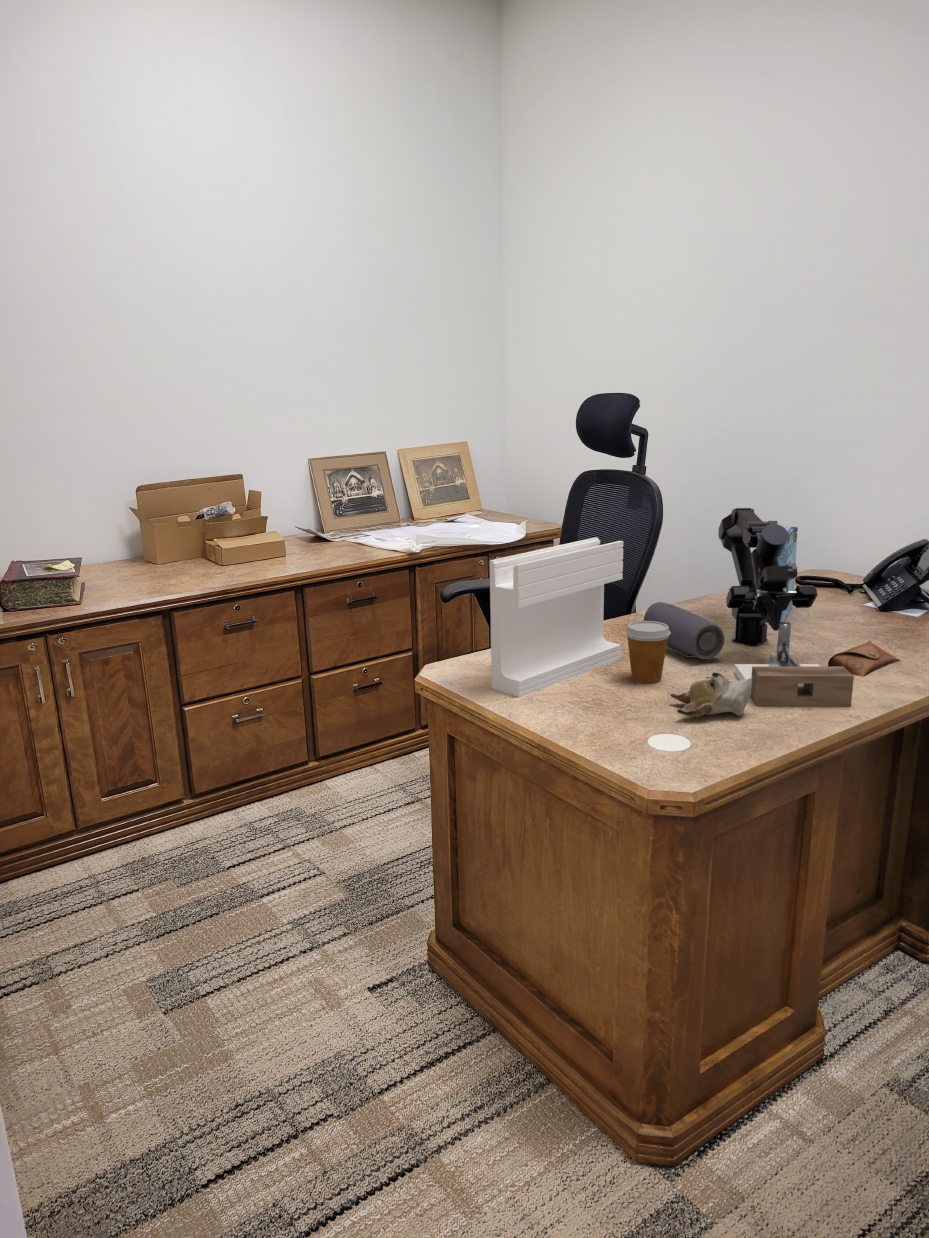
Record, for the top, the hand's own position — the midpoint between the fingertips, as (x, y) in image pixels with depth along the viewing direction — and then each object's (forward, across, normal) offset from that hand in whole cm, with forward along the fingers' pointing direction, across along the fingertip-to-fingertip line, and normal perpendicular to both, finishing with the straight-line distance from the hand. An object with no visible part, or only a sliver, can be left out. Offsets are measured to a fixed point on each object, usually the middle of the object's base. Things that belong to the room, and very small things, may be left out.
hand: (776, 629), depth 192 cm
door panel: (+12, 0, +1) cm, 12 cm away
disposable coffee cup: (+11, -29, +2) cm, 31 cm away
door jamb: (+20, 0, -7) cm, 22 cm away
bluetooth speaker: (-4, -18, +17) cm, 25 cm away
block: (+8, -48, +5) cm, 49 cm away
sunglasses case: (+4, +21, +10) cm, 24 cm away
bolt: (+11, 0, -2) cm, 11 cm away
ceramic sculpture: (+26, -19, -12) cm, 34 cm away
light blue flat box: (-27, +14, +41) cm, 51 cm away
